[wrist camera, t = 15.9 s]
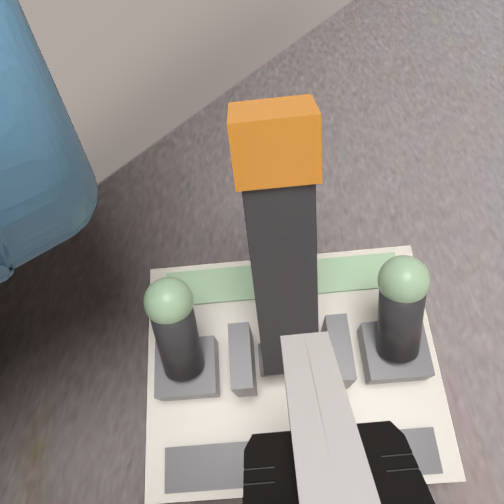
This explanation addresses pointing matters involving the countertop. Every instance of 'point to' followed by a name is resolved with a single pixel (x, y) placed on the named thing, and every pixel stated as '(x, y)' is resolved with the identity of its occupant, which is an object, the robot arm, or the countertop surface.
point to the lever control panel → (273, 387)
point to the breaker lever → (279, 213)
